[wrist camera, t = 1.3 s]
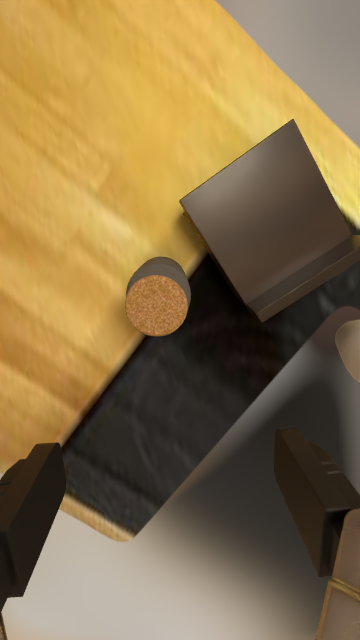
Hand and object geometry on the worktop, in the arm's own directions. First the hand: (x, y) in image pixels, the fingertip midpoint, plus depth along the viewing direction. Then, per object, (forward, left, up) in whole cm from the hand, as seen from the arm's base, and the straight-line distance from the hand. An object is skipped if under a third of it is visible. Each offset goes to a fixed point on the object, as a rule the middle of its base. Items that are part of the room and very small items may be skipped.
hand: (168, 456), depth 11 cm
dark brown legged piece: (-2, +14, -28) cm, 31 cm away
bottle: (-3, +1, -28) cm, 28 cm away
